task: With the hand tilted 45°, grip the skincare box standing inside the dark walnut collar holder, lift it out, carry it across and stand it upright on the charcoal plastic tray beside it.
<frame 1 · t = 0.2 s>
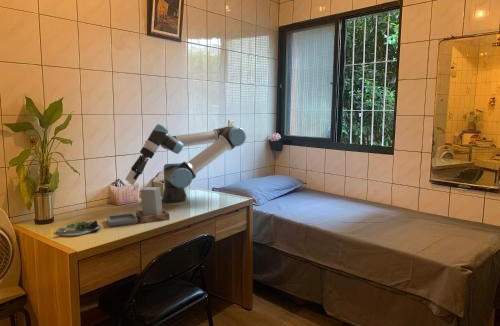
hand: (128, 182, 207), 16 cm above the table, tool tilted 35°, fingers open, 13 cm apart
salad plate: (80, 231, 172), on the table
tray: (122, 222, 185), on the table
skincare box: (152, 218, 193), resting in collar holder
collar holder: (152, 217, 193), on the table
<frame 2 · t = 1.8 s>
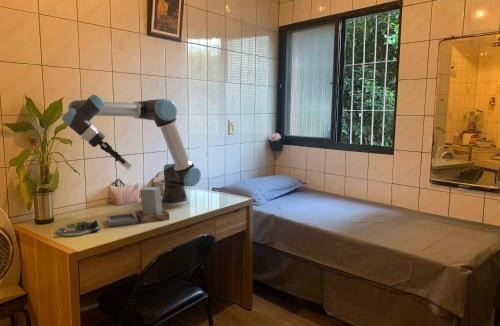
hand: (127, 166, 184), 28 cm above the table, tool tilted 45°, fingers open, 13 cm apart
nothing on the table moved.
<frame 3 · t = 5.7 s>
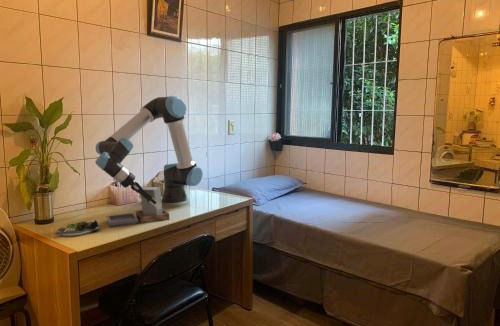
hand: (157, 204, 193), 6 cm above the table, tool tilted 45°, fingers closed on skincare box, 10 cm apart
skincare box: (152, 218, 193), resting in collar holder, touching gripper
everything else where it was.
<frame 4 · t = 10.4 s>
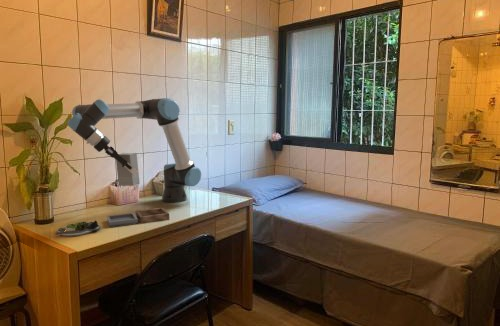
hand: (134, 171, 185), 25 cm above the table, tool tilted 45°, fingers closed on skincare box, 10 cm apart
skincare box: (128, 185, 184), point 18 cm above the table, touching gripper
everything else where it was.
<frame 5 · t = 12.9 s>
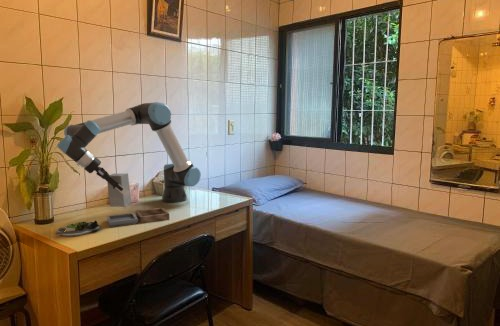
hand: (125, 192, 184), 15 cm above the table, tool tilted 45°, fingers closed on skincare box, 10 cm apart
skincare box: (119, 206, 184), point 8 cm above the table, touching gripper
everything else where it was.
when the fingers open (9 cm above the table, at t = 15.0 s): skincare box drops 1 cm, resting on tray.
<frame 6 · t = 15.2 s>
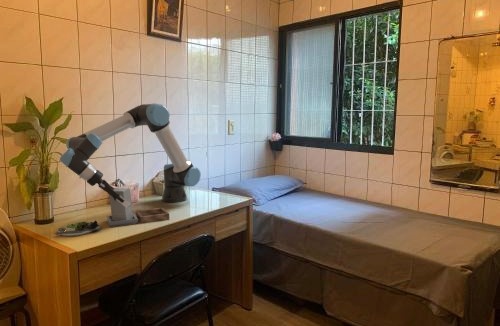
hand: (126, 203, 185), 9 cm above the table, tool tilted 45°, fingers open, 12 cm apart
skincare box: (122, 220, 185), point 1 cm above the table, touching tray
everything else where it was.
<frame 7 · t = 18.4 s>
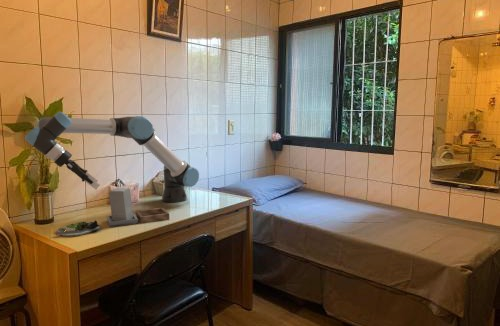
hand: (96, 185, 178), 20 cm above the table, tool tilted 45°, fingers open, 13 cm apart
nothing on the table moved.
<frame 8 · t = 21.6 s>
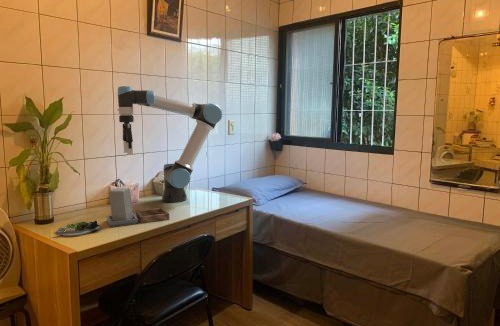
hand: (128, 153, 207), 32 cm above the table, tool pointing down, fingers open, 13 cm apart
nothing on the table moved.
at the end: skincare box inside the target area on the tray (0.2 cm from its centre), point 0.8 cm above the tray's base; skincare box tilted 0°; the gripper is holding nothing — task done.
